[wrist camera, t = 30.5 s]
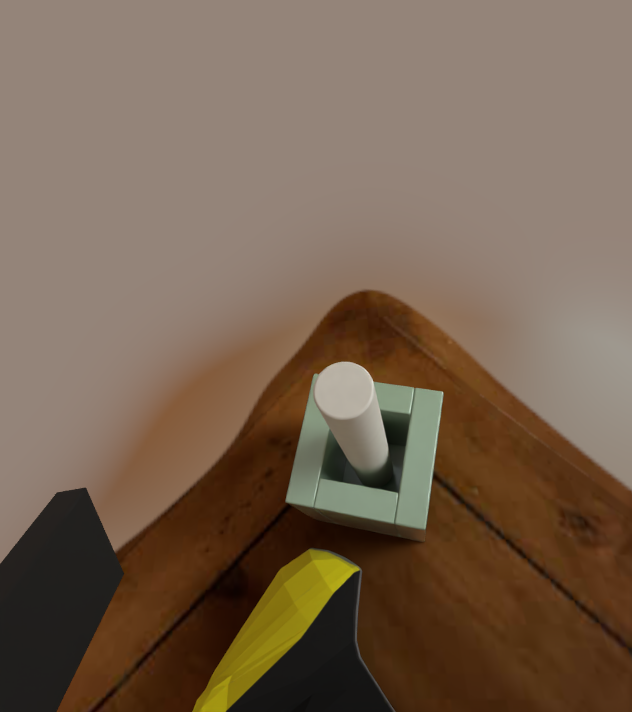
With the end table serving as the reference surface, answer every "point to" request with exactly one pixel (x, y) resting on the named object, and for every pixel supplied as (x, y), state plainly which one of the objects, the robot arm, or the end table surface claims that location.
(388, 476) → the white peg
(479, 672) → the end table surface
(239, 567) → the end table surface
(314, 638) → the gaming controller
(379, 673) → the end table surface
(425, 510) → the pen holder
